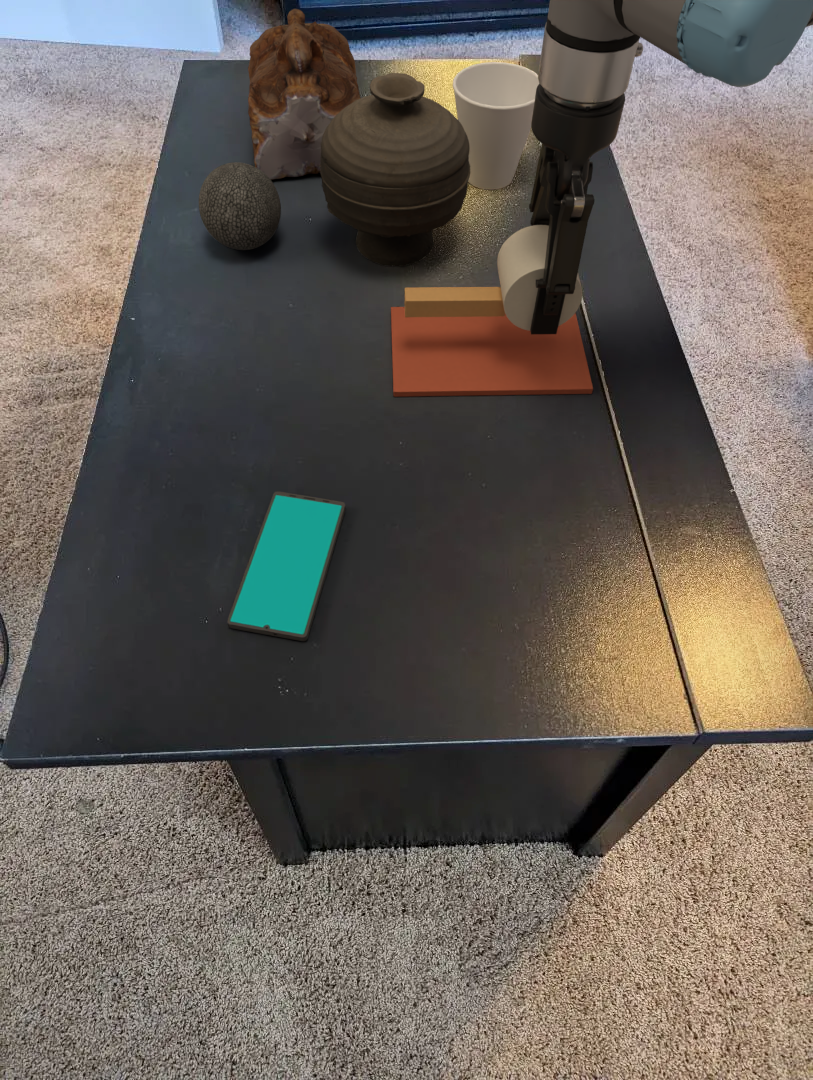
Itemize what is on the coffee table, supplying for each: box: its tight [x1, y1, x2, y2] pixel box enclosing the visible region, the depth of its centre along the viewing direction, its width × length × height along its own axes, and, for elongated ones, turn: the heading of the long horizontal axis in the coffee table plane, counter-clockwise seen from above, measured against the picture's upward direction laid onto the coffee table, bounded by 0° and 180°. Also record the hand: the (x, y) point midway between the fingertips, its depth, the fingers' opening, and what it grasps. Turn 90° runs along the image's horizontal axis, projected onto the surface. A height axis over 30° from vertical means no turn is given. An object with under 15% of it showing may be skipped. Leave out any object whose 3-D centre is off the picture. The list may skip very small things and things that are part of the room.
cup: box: [452, 61, 539, 191], centre depth 102 cm, size 12×12×12 cm
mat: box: [390, 306, 594, 398], centre depth 87 cm, size 22×14×1 cm, turn 92°
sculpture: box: [247, 8, 362, 181], centre depth 107 cm, size 19×18×20 cm
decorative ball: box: [198, 161, 282, 251], centre depth 94 cm, size 10×10×10 cm
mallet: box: [403, 225, 583, 331], centre depth 80 cm, size 18×7×8 cm, turn 92°
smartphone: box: [226, 490, 346, 642], centre depth 71 cm, size 7×1×15 cm
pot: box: [319, 72, 470, 267], centre depth 91 cm, size 18×18×20 cm
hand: (538, 307), depth 83 cm, fingers closed on mallet, 7 cm apart
